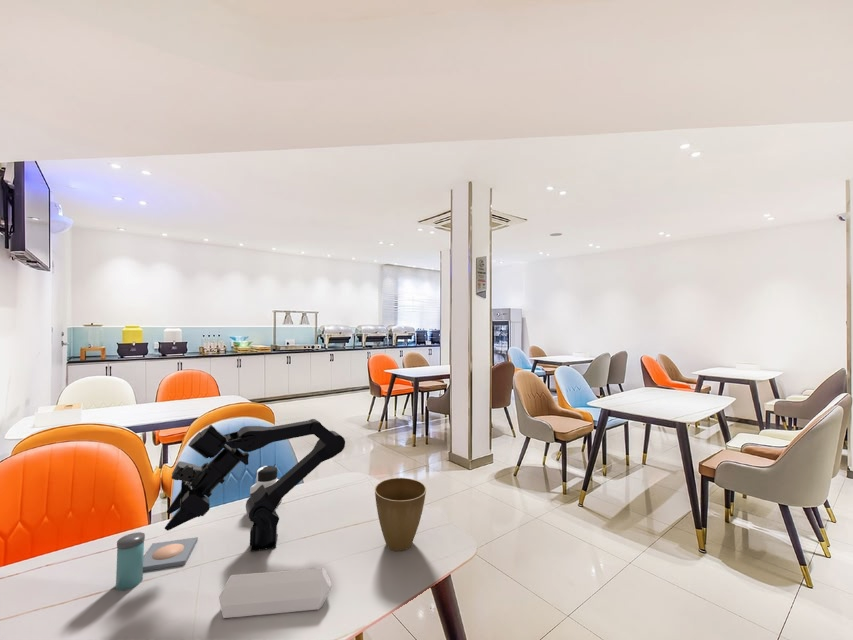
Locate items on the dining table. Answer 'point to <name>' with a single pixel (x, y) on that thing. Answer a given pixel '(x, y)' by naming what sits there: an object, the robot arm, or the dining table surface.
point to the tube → (130, 561)
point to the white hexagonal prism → (274, 592)
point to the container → (265, 478)
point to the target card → (168, 553)
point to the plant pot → (399, 510)
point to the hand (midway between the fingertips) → (167, 520)
